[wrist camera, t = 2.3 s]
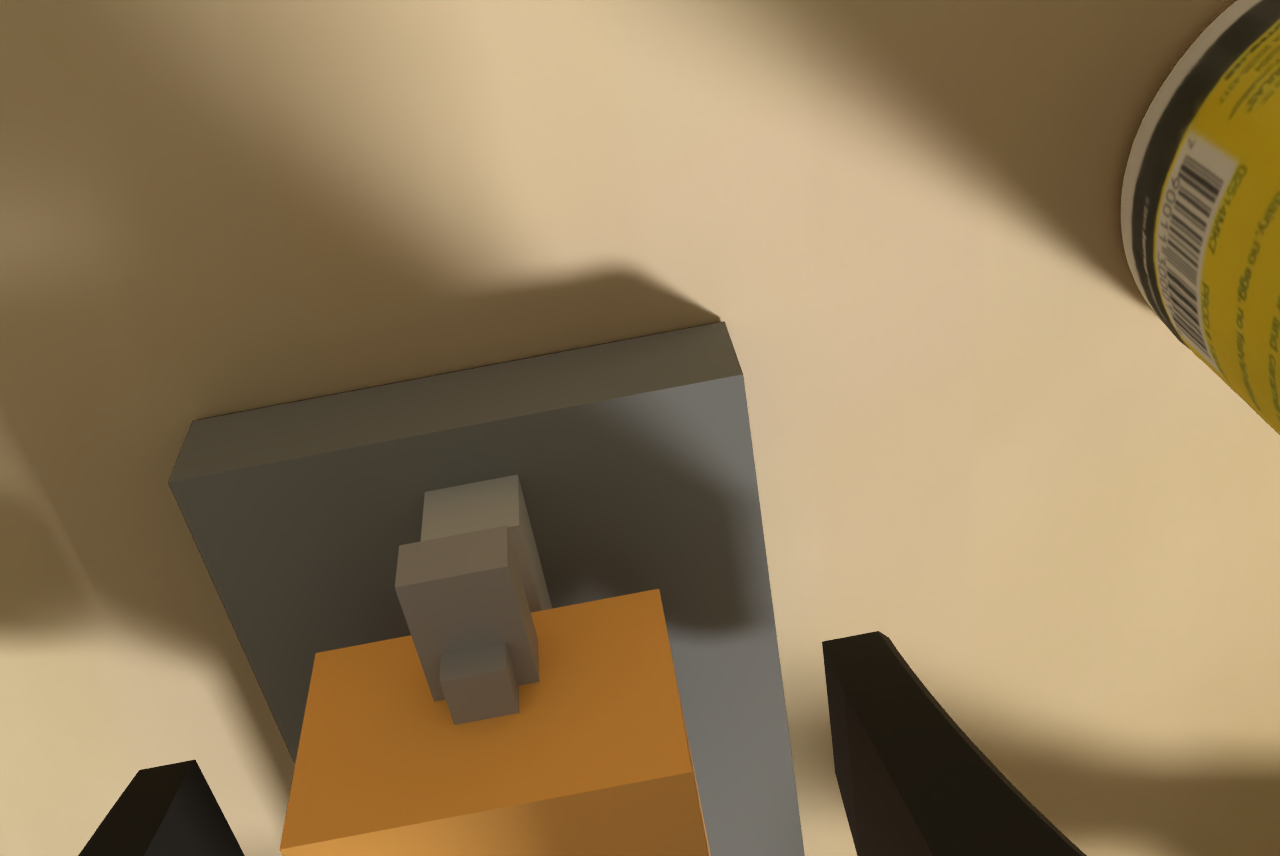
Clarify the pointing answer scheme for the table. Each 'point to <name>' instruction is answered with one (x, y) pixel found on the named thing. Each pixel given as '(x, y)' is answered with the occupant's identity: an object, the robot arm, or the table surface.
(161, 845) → the robot arm
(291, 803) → the orange cube with peg
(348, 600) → the linear slider rail
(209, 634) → the table surface
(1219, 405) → the table surface
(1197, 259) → the supplement bottle
